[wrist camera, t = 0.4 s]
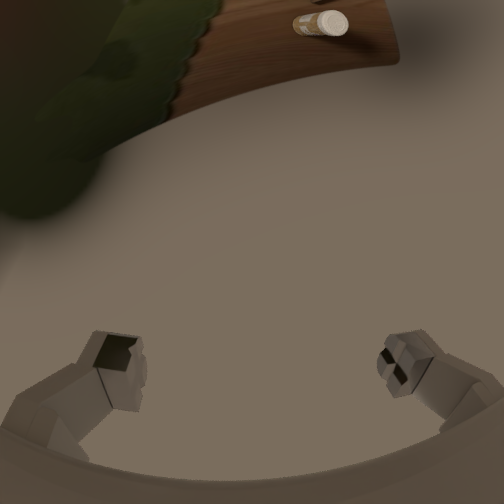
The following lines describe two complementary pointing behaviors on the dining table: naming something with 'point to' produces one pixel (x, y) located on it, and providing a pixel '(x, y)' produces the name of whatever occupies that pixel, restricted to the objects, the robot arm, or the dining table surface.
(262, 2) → the dining table surface
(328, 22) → the sprinkles bottle
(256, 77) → the dining table surface
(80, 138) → the dining table surface
